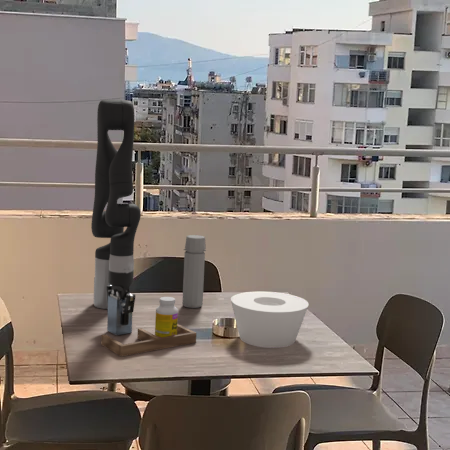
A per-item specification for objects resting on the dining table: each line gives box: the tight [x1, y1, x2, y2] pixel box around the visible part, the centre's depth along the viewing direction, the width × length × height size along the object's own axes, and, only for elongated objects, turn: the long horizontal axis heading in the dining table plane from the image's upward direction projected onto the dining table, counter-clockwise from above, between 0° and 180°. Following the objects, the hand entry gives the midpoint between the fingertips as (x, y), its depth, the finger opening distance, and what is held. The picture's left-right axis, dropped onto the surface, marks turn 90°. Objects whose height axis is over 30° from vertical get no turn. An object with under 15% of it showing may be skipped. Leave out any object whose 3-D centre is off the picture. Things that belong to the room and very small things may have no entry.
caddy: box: [100, 323, 197, 357], centre depth 215 cm, size 12×26×3 cm, turn 127°
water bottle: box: [182, 234, 207, 309], centre depth 257 cm, size 9×8×25 cm
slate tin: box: [106, 294, 133, 336], centre depth 223 cm, size 6×6×12 cm
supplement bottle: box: [154, 296, 179, 338], centre depth 218 cm, size 7×7×13 cm
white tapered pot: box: [230, 291, 310, 349], centre depth 224 cm, size 24×24×12 cm
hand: (119, 322), depth 224 cm, fingers closed on slate tin, 5 cm apart
